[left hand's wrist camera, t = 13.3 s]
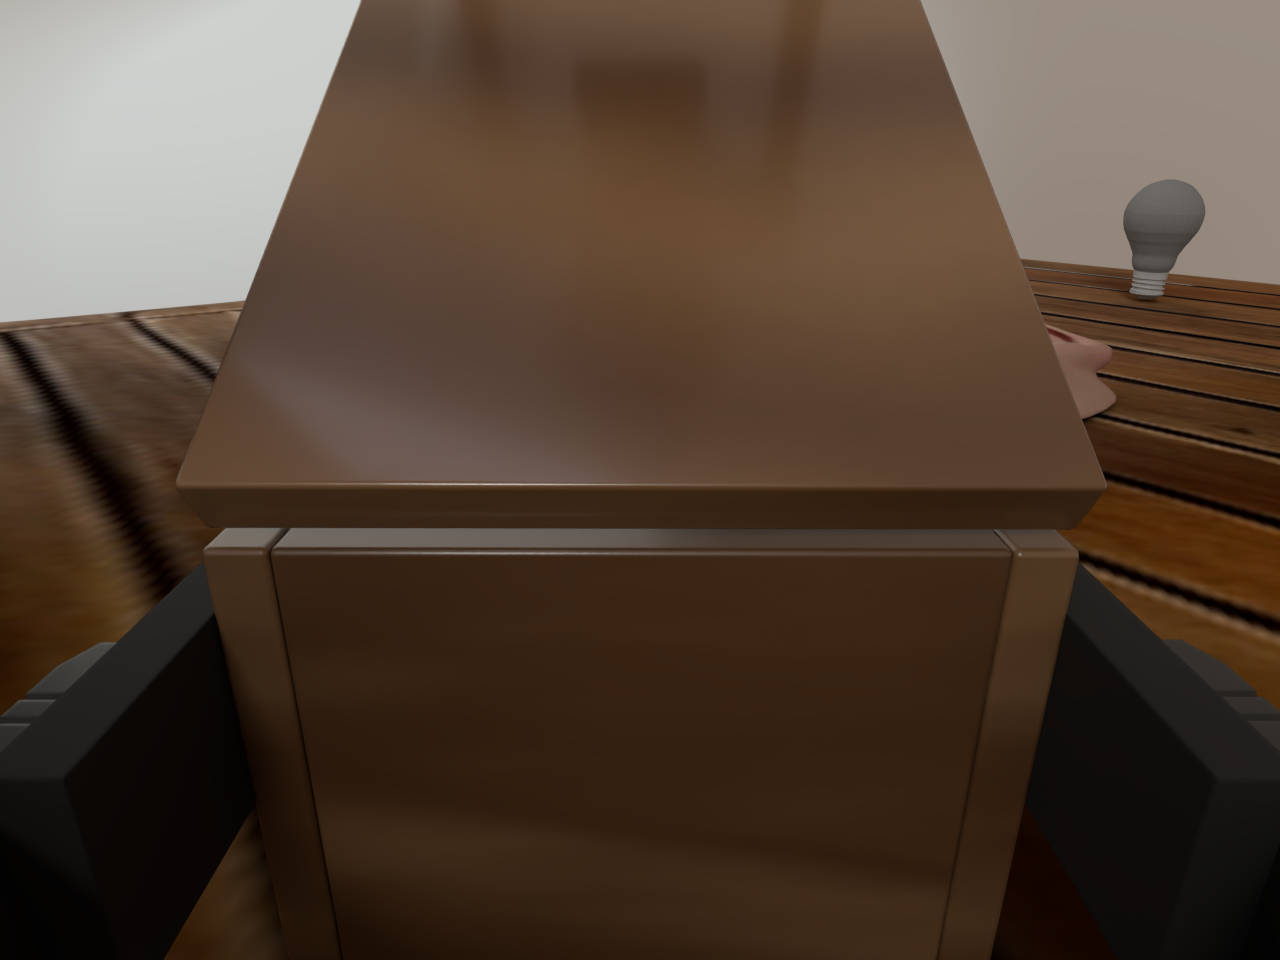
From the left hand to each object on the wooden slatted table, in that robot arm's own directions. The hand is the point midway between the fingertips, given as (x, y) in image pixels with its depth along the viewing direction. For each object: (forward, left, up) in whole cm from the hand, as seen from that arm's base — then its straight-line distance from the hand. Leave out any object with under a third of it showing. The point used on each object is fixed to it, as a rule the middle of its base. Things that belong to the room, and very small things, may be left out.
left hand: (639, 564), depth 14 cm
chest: (-3, +2, -6) cm, 7 cm away
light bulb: (-20, +76, -7) cm, 79 cm away
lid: (-2, +2, +7) cm, 7 cm away
